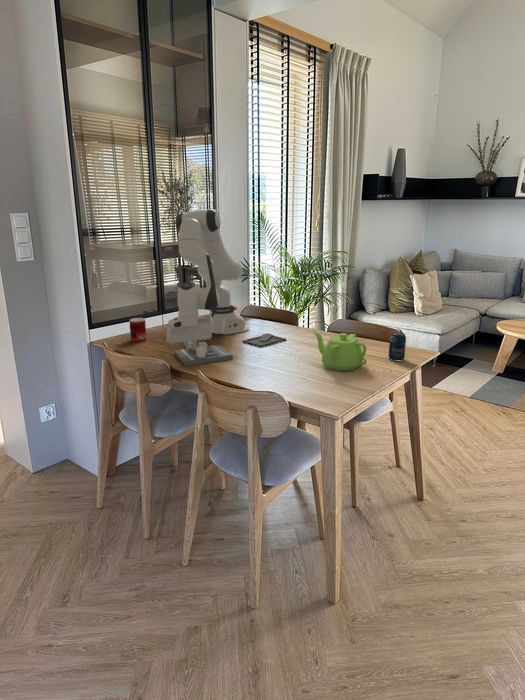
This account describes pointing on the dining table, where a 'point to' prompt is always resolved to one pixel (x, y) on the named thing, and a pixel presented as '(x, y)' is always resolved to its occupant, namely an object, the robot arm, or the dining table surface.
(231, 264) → the robot arm
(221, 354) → the panel
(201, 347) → the breaker
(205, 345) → the breaker mid
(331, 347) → the teapot
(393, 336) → the soda can
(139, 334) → the canned food
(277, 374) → the dining table surface
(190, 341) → the block
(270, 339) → the picture frame
